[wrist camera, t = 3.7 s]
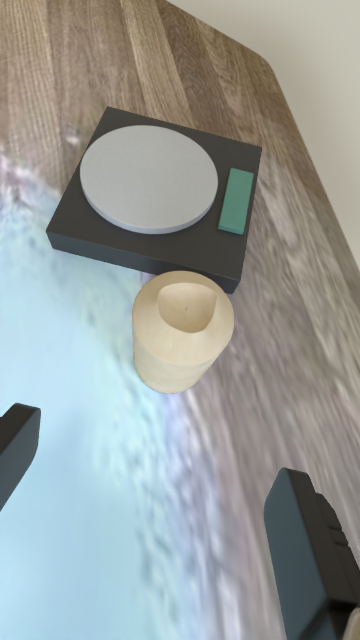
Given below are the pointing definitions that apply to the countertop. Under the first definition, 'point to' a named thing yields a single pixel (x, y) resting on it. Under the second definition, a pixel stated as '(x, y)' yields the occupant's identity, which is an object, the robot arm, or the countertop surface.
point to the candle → (179, 329)
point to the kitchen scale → (160, 199)
